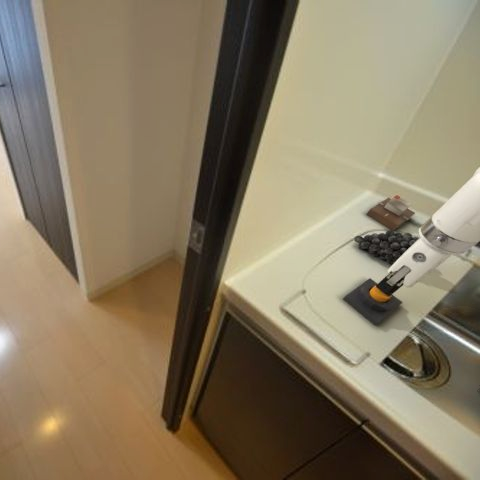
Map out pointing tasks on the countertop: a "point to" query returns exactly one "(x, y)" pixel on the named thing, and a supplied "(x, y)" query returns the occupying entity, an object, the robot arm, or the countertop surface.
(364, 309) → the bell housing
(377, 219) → the lock plate
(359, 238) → the fruit
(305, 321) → the countertop surface
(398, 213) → the lock knob
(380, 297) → the bell button
